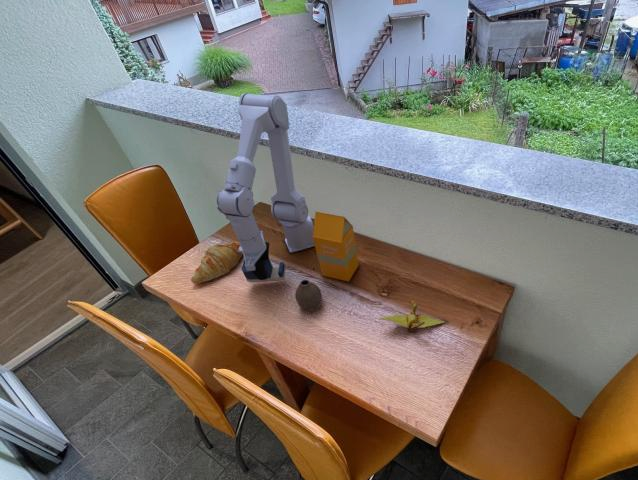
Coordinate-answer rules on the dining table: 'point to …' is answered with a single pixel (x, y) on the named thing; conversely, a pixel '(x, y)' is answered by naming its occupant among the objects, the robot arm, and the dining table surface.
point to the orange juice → (335, 246)
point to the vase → (308, 295)
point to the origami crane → (413, 319)
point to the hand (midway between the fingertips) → (264, 272)
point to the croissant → (217, 262)
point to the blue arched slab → (271, 272)
